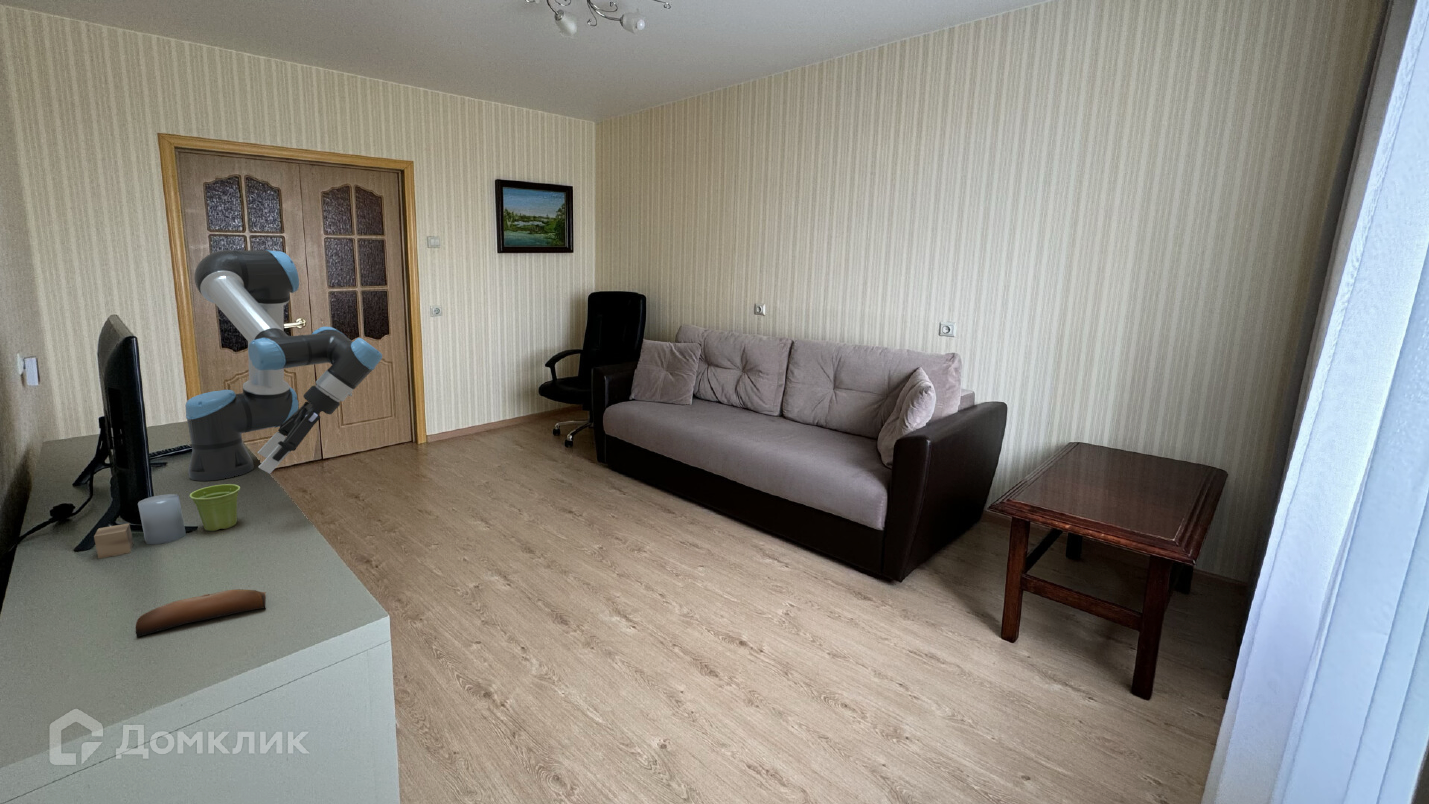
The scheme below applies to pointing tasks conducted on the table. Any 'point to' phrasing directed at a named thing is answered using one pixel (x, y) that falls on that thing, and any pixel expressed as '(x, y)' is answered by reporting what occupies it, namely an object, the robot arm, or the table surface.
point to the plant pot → (217, 506)
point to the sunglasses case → (199, 609)
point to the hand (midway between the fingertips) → (263, 462)
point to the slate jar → (161, 519)
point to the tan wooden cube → (113, 540)
